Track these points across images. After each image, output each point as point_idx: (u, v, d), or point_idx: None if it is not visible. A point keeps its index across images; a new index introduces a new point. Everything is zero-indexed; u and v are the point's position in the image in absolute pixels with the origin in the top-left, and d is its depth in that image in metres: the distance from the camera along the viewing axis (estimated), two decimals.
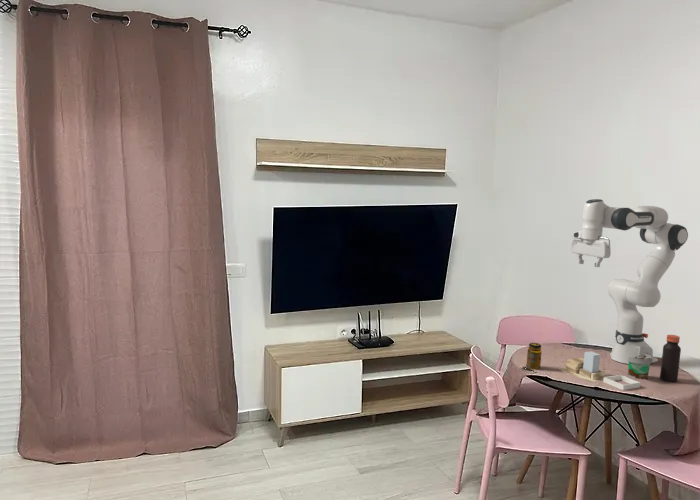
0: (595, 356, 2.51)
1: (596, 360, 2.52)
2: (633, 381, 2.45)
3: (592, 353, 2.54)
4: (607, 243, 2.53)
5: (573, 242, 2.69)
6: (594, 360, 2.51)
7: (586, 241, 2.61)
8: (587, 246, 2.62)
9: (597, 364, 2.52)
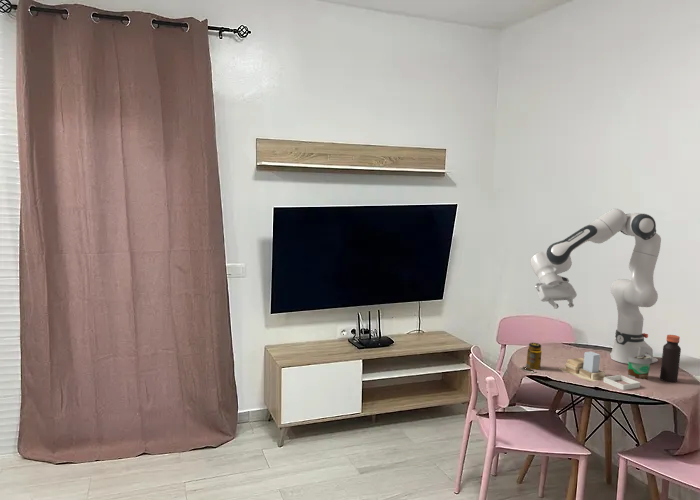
0: (595, 356, 2.51)
1: (596, 360, 2.52)
2: (633, 381, 2.45)
3: (592, 353, 2.54)
4: None
5: None
6: (594, 360, 2.51)
7: None
8: None
9: (597, 364, 2.52)
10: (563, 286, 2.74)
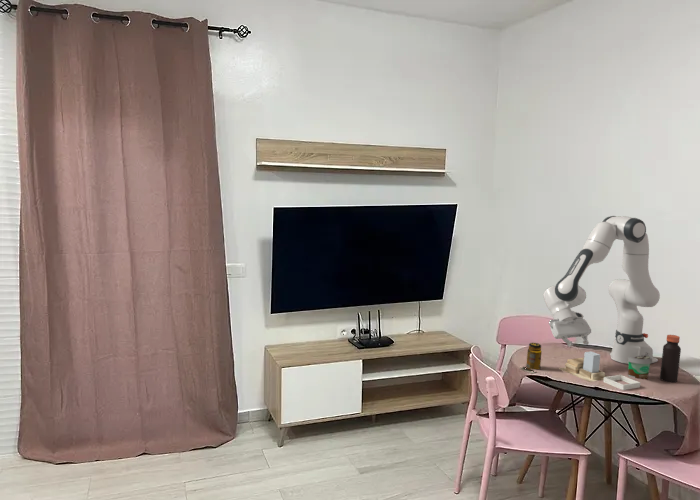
0: (595, 356, 2.51)
1: (596, 360, 2.52)
2: (633, 381, 2.45)
3: (592, 353, 2.54)
4: None
5: None
6: (594, 360, 2.51)
7: None
8: None
9: (597, 364, 2.52)
10: (577, 322, 2.66)
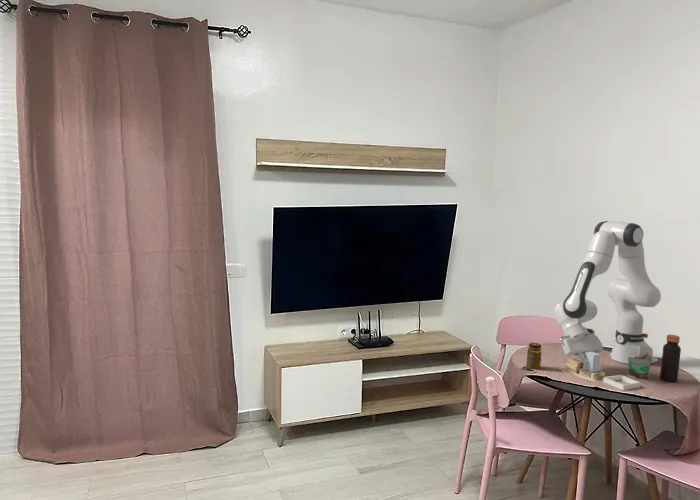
0: (595, 356, 2.51)
1: (596, 360, 2.52)
2: (633, 381, 2.45)
3: (592, 353, 2.54)
4: None
5: None
6: (594, 360, 2.51)
7: None
8: None
9: (597, 364, 2.52)
10: (589, 339, 2.60)
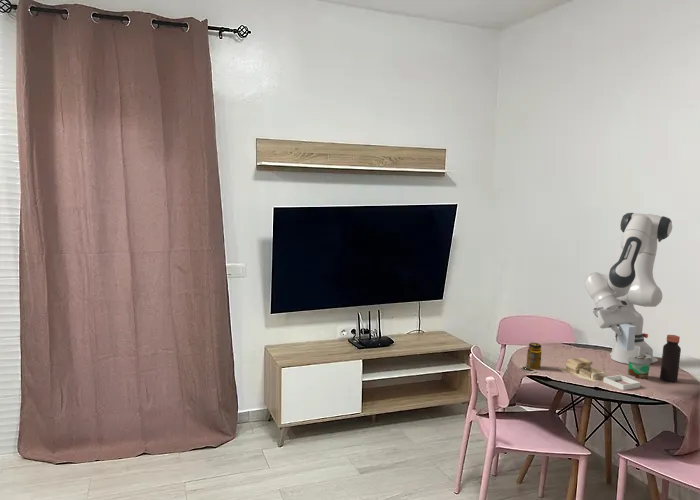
0: (631, 328, 2.39)
1: (631, 332, 2.39)
2: (633, 381, 2.45)
3: (627, 325, 2.42)
4: None
5: None
6: (629, 331, 2.39)
7: None
8: None
9: (633, 336, 2.40)
10: (623, 311, 2.48)
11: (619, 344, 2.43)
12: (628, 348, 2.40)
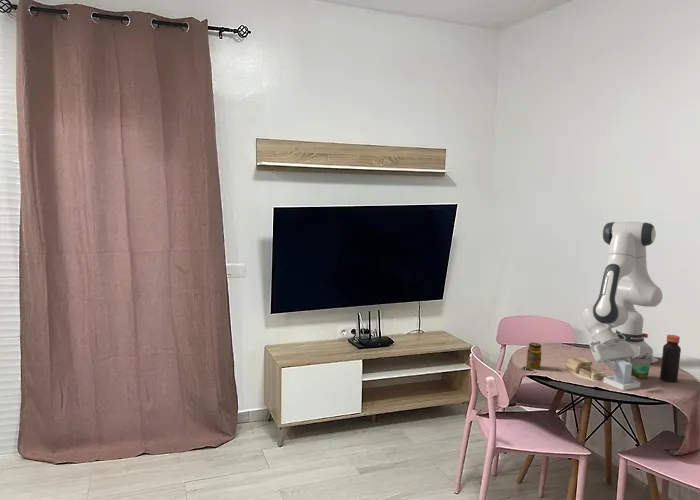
0: (627, 365, 2.41)
1: (628, 370, 2.42)
2: (633, 381, 2.45)
3: (624, 362, 2.44)
4: None
5: None
6: (625, 369, 2.41)
7: None
8: None
9: (629, 374, 2.42)
10: (619, 345, 2.50)
11: (615, 381, 2.45)
12: None
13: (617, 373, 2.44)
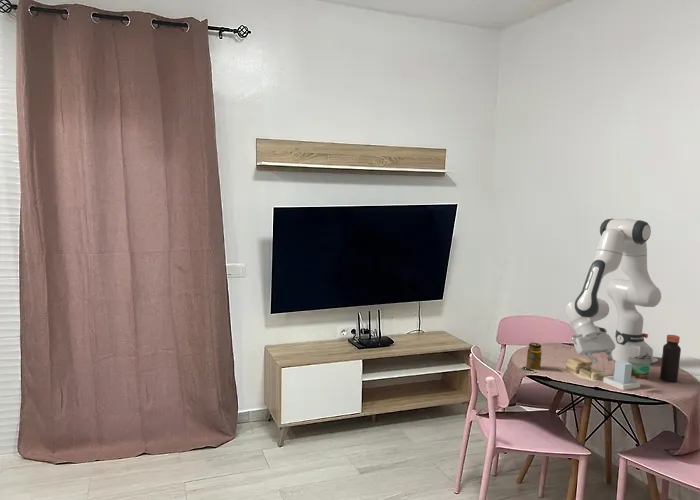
0: (627, 365, 2.41)
1: (628, 370, 2.42)
2: (633, 381, 2.45)
3: (624, 362, 2.44)
4: None
5: None
6: (625, 369, 2.41)
7: None
8: None
9: (629, 374, 2.42)
10: (601, 337, 2.59)
11: (615, 381, 2.45)
12: None
13: (617, 373, 2.44)
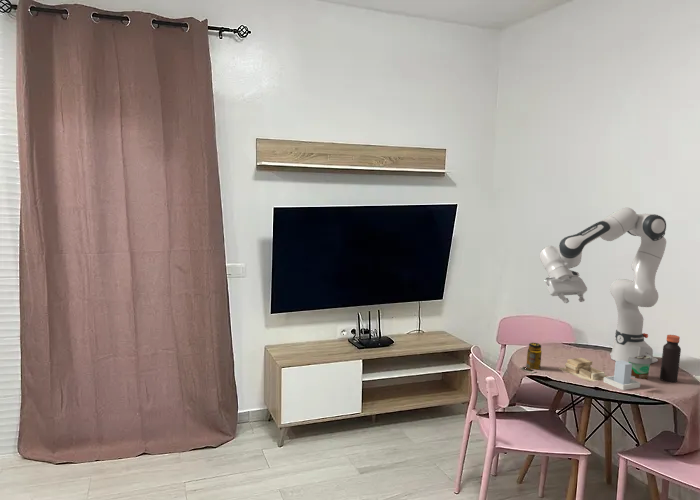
0: (627, 365, 2.41)
1: (628, 370, 2.42)
2: (633, 381, 2.45)
3: (624, 362, 2.44)
4: None
5: None
6: (625, 369, 2.41)
7: None
8: None
9: (629, 374, 2.42)
10: (573, 280, 2.68)
11: (615, 381, 2.45)
12: None
13: (617, 373, 2.44)
